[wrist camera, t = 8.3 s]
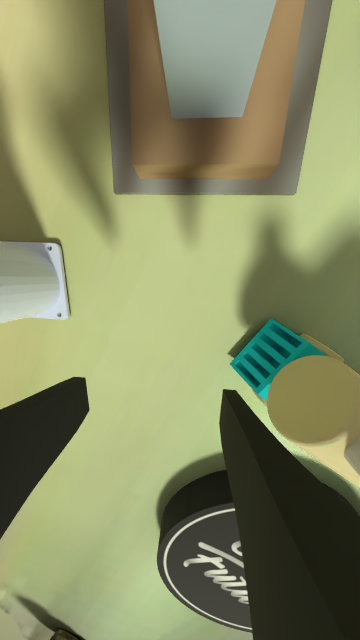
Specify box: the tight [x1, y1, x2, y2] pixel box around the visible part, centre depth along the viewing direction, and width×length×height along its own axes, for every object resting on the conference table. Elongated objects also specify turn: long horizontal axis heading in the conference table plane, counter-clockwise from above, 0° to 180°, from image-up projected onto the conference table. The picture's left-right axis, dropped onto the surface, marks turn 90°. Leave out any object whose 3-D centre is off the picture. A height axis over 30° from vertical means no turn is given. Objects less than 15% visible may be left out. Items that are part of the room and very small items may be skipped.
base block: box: [104, 0, 332, 195], centre depth 12 cm, size 16×13×2 cm
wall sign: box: [157, 470, 359, 633], centre depth 24 cm, size 30×4×30 cm
